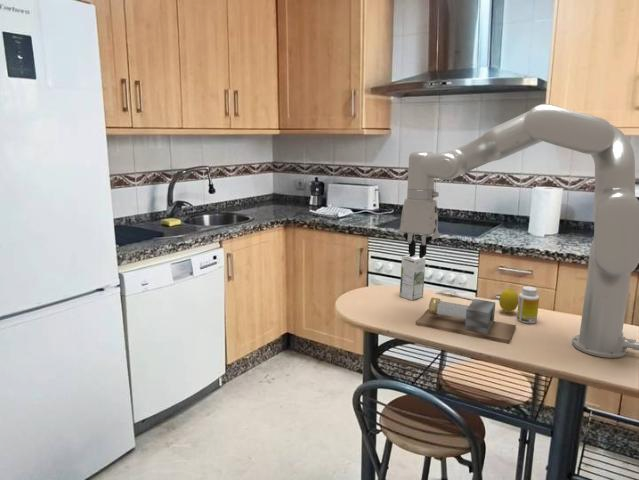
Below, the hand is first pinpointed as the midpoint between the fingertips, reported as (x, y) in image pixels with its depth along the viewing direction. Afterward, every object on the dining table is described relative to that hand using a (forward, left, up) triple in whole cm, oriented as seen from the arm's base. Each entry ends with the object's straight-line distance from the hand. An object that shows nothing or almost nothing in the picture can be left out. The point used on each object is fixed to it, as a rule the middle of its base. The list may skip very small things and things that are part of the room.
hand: (417, 256), depth 147 cm
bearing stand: (-16, 0, -19) cm, 25 cm away
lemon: (-24, -18, -19) cm, 36 cm away
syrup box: (+6, -17, -19) cm, 27 cm away
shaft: (-11, 0, -17) cm, 21 cm away
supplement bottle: (-30, -14, -19) cm, 39 cm away
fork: (-9, -25, -20) cm, 33 cm away
